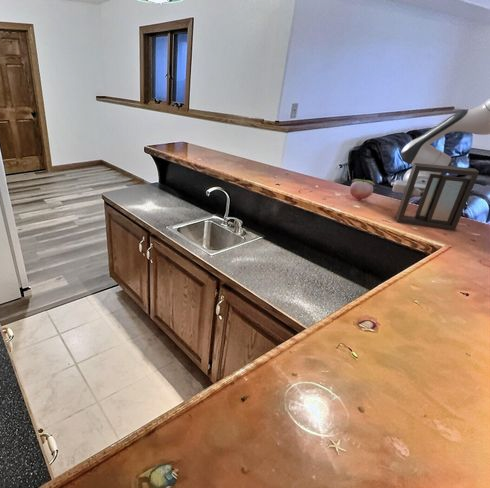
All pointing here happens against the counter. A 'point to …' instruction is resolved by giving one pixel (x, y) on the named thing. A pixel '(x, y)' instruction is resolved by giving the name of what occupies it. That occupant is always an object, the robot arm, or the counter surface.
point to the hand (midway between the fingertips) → (426, 195)
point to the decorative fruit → (361, 188)
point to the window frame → (440, 196)
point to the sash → (428, 195)
